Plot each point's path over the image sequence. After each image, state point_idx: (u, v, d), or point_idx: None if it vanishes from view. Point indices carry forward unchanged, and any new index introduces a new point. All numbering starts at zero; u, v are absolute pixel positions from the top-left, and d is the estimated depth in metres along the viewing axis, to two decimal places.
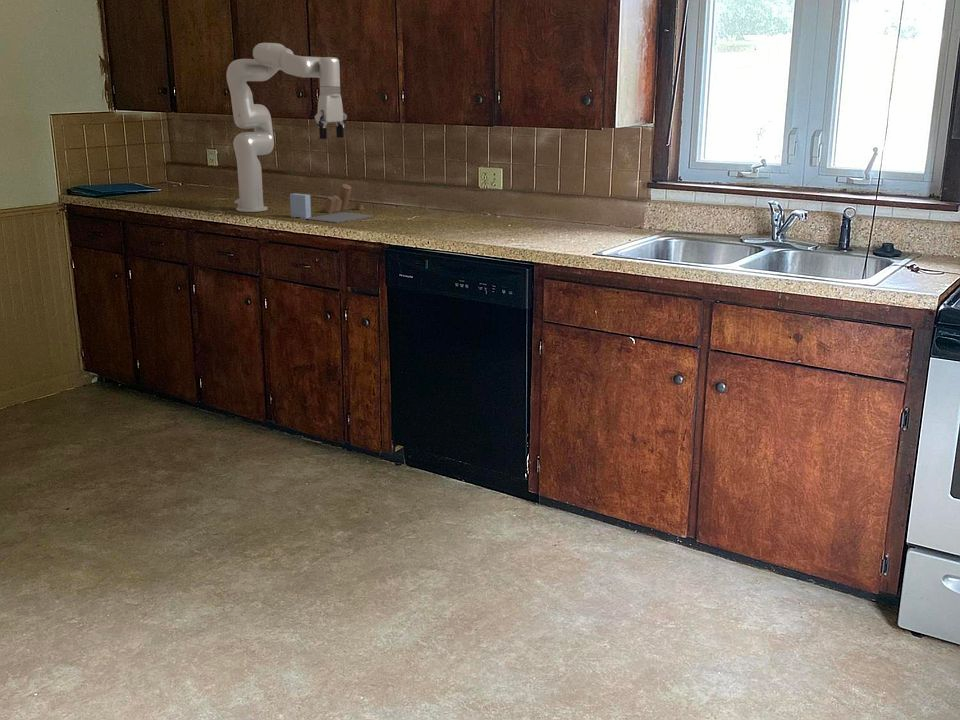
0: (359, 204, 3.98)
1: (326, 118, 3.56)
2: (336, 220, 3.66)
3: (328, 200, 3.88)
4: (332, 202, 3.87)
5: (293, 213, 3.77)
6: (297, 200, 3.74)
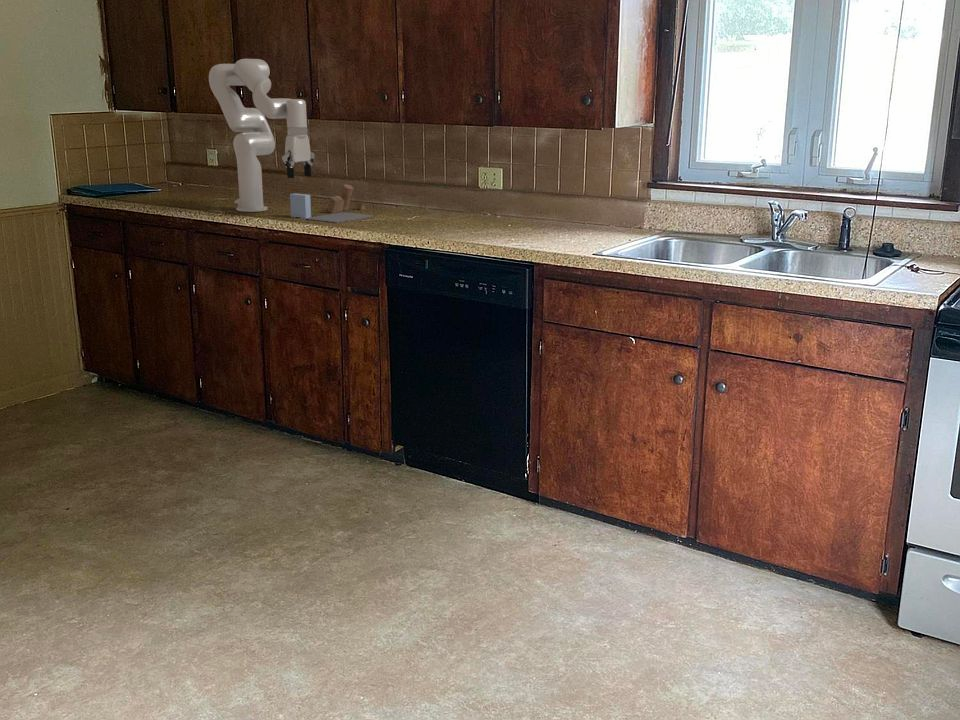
0: (360, 204, 3.98)
1: (293, 158, 3.65)
2: (336, 220, 3.66)
3: (331, 200, 3.87)
4: (335, 202, 3.87)
5: (293, 213, 3.77)
6: (297, 200, 3.74)
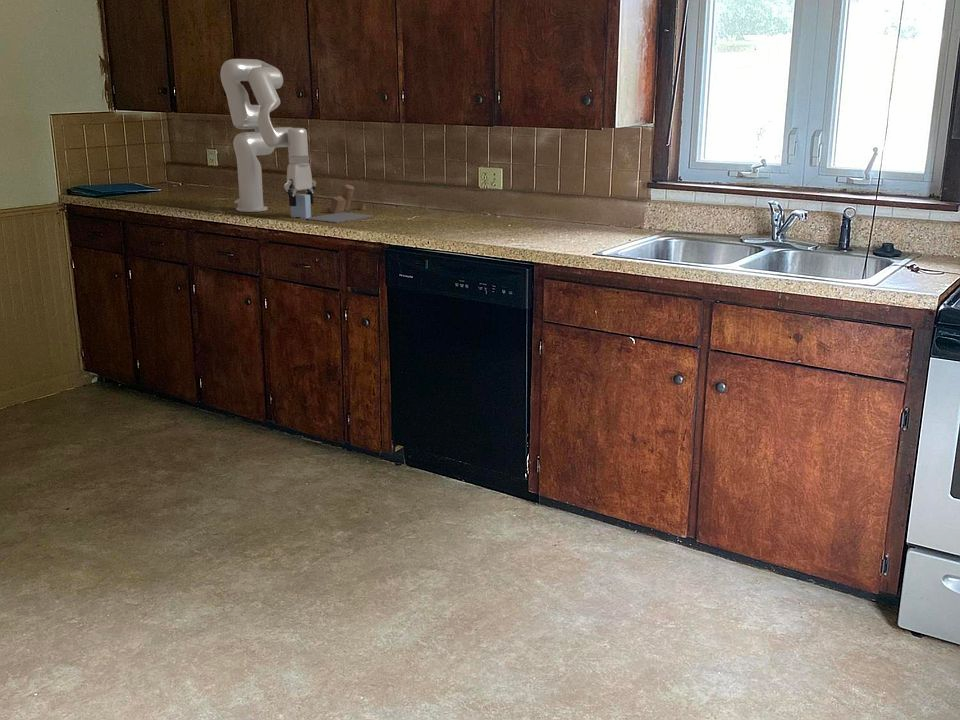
0: (361, 204, 3.98)
1: (295, 186, 3.68)
2: (336, 220, 3.66)
3: (334, 201, 3.86)
4: (338, 202, 3.86)
5: (293, 213, 3.77)
6: (297, 200, 3.74)
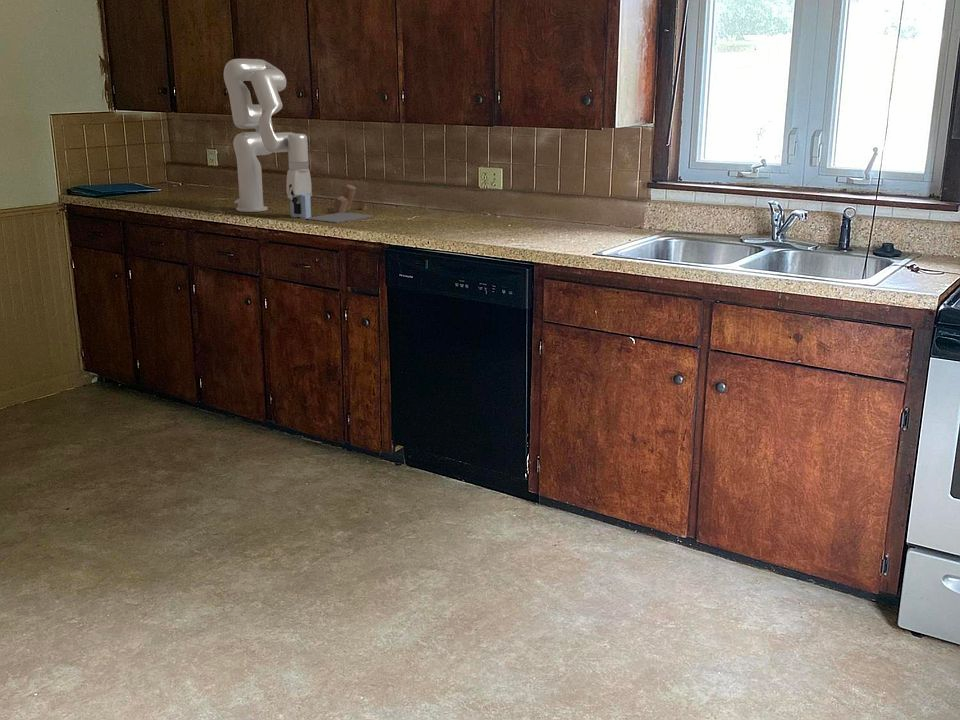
0: (363, 204, 3.98)
1: (294, 192, 3.69)
2: (336, 220, 3.66)
3: (337, 201, 3.86)
4: (342, 203, 3.86)
5: (293, 213, 3.77)
6: None
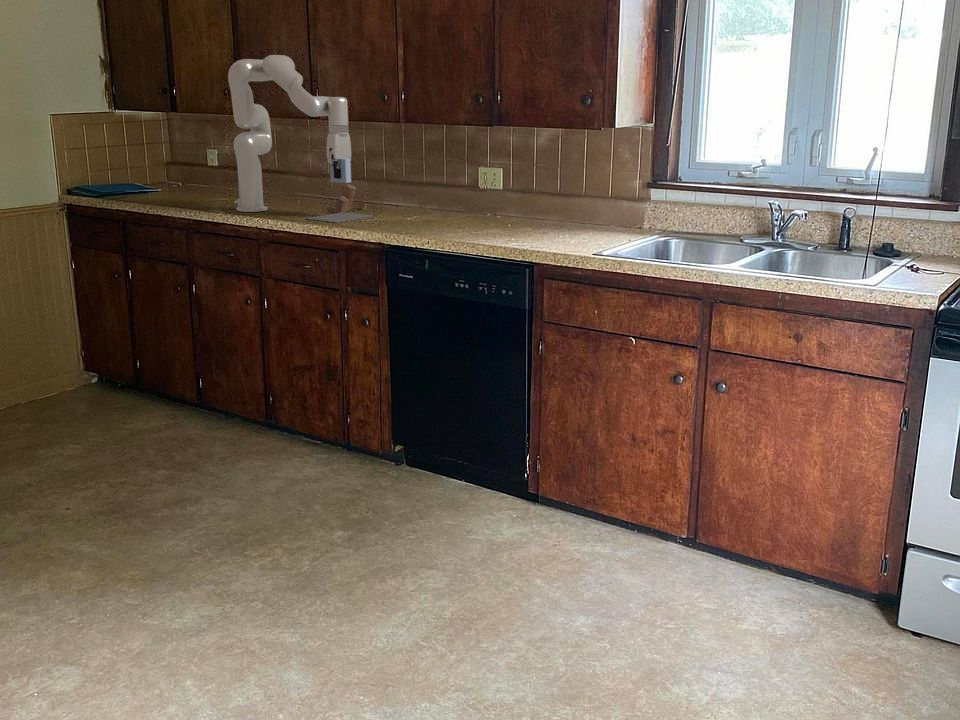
0: (363, 204, 3.99)
1: (335, 156, 3.67)
2: (336, 220, 3.66)
3: (339, 201, 3.85)
4: (344, 203, 3.86)
5: (333, 177, 3.74)
6: None
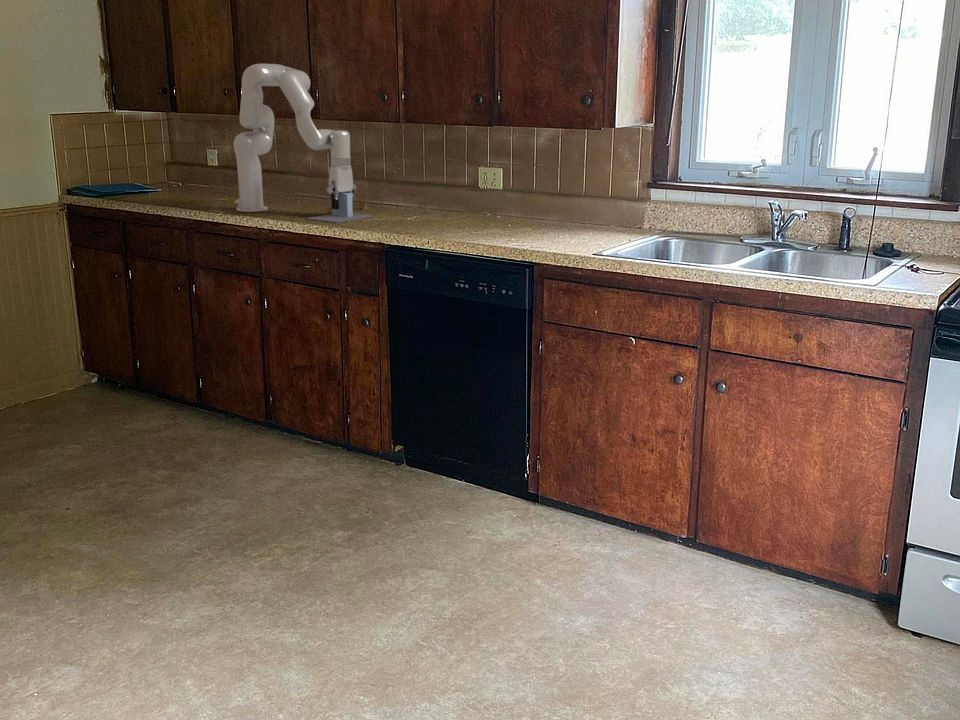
0: (363, 204, 3.99)
1: (337, 189, 3.70)
2: (336, 220, 3.66)
3: None
4: None
5: (334, 211, 3.78)
6: (339, 198, 3.75)
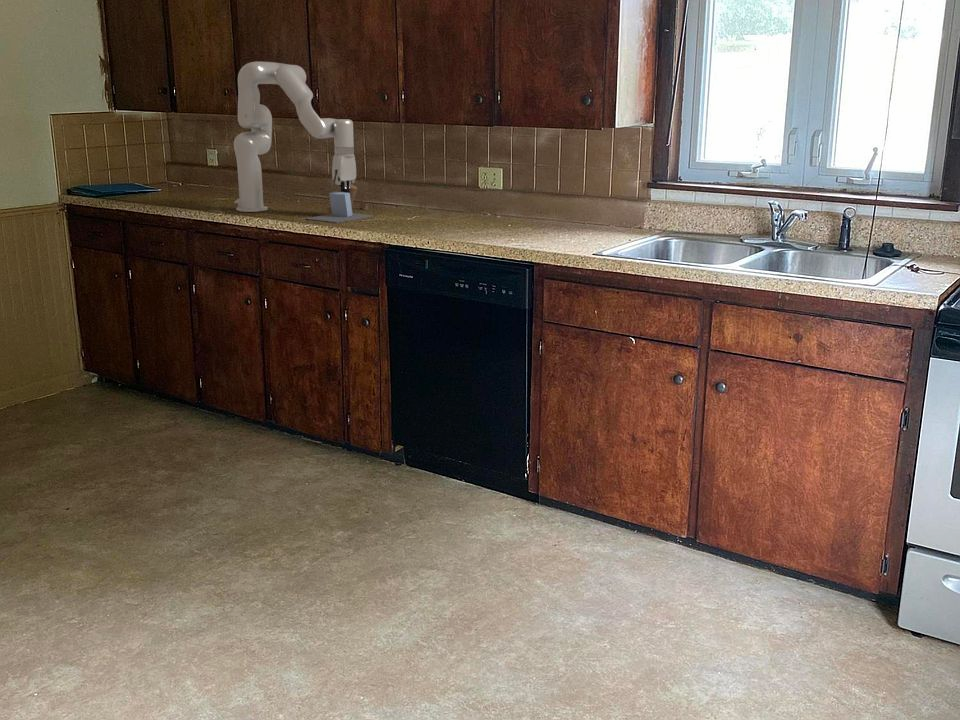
0: (364, 204, 3.99)
1: (340, 177, 3.71)
2: (336, 220, 3.66)
3: None
4: None
5: (334, 211, 3.78)
6: (337, 199, 3.74)
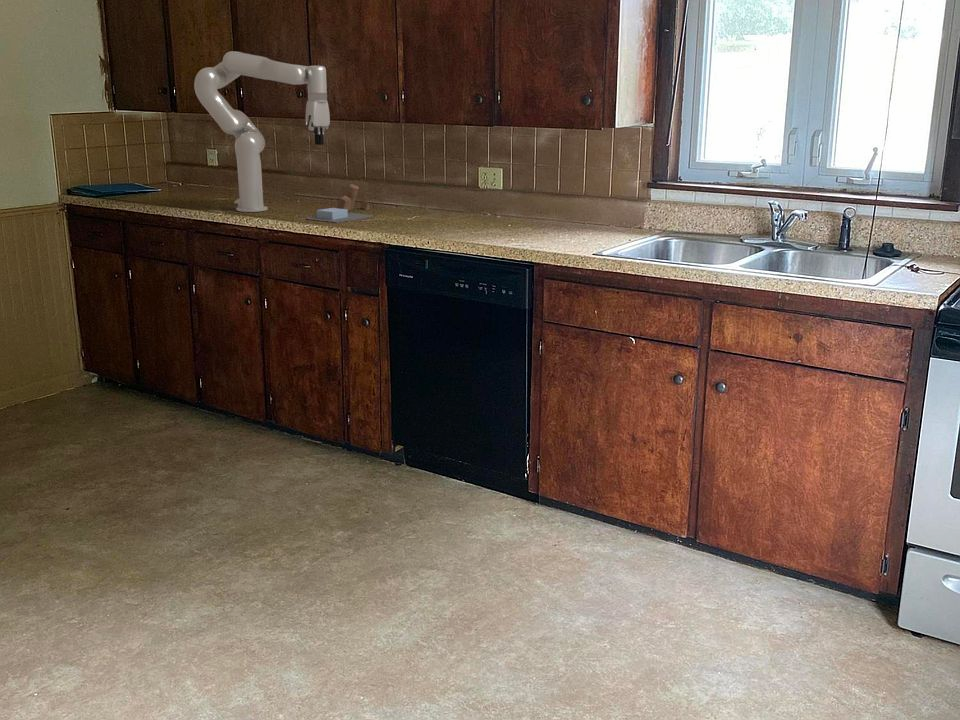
0: (365, 204, 3.99)
1: (313, 123, 3.79)
2: (336, 220, 3.66)
3: (341, 201, 3.86)
4: (346, 202, 3.86)
5: None
6: None
